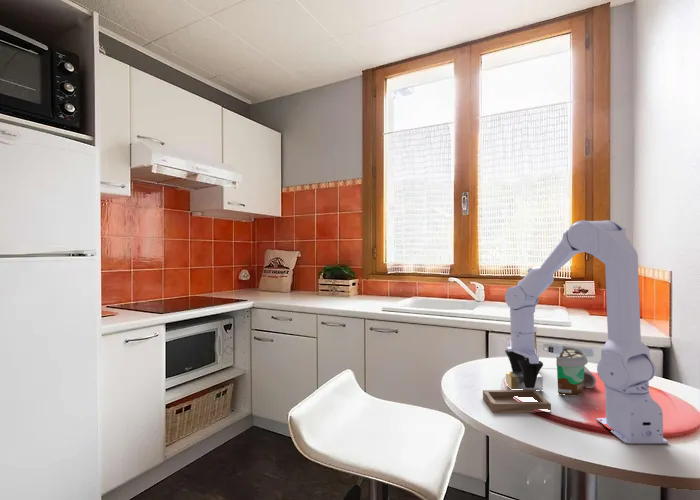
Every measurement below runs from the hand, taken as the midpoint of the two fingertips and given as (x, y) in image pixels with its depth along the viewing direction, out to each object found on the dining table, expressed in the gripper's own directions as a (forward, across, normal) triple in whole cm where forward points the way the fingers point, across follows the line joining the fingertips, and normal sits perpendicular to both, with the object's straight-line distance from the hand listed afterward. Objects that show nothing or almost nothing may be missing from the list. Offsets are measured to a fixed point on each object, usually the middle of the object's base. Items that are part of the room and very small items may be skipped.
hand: (523, 381), depth 98 cm
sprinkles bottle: (+2, -16, +8) cm, 18 cm away
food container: (+2, +2, +12) cm, 12 cm away
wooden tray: (+2, +10, -6) cm, 12 cm away
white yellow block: (+2, 0, 0) cm, 2 cm away
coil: (+2, -8, +18) cm, 20 cm away
